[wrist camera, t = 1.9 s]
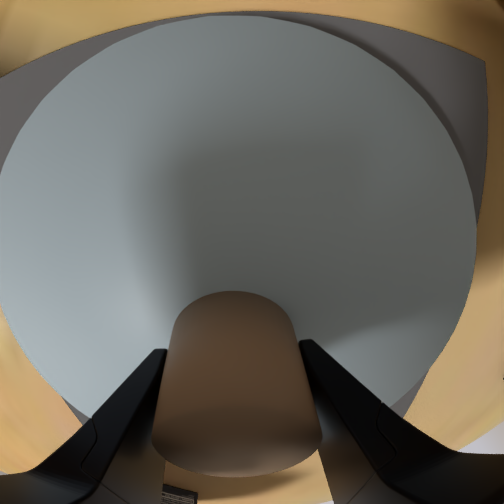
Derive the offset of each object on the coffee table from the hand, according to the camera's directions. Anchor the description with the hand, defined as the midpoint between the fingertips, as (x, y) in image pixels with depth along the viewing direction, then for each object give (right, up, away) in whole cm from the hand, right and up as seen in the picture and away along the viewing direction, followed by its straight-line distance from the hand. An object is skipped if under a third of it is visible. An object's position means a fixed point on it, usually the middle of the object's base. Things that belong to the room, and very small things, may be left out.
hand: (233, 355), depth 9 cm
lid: (0, +1, +1) cm, 2 cm away
